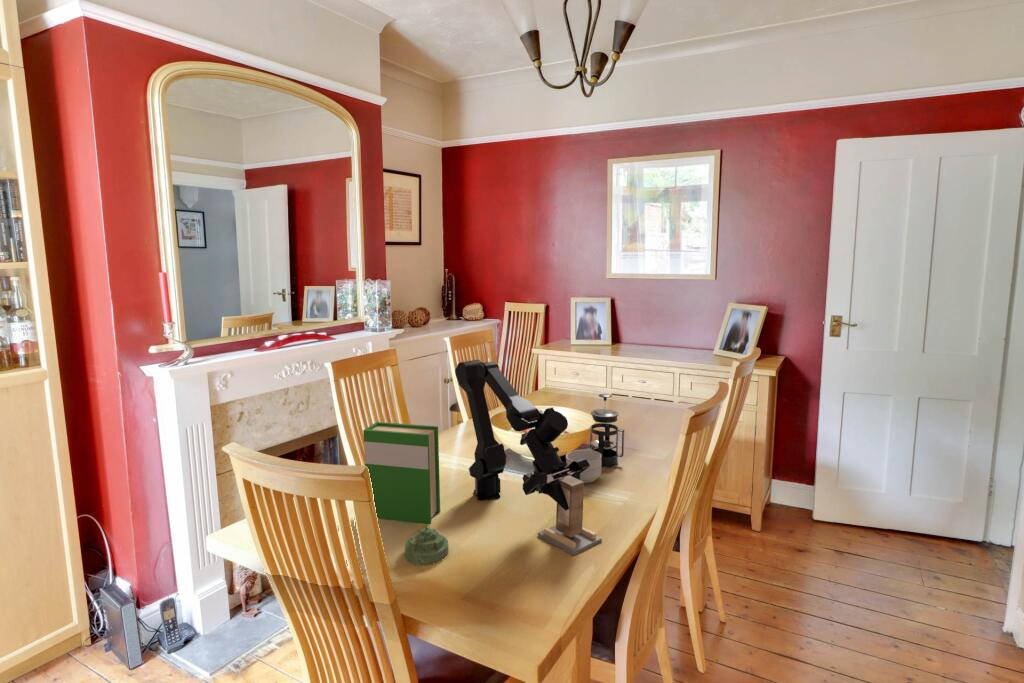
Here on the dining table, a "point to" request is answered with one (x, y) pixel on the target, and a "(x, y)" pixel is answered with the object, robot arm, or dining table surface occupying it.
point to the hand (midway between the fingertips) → (573, 507)
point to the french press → (606, 435)
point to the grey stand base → (570, 539)
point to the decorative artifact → (426, 547)
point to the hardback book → (403, 470)
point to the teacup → (592, 459)
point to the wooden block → (571, 507)
